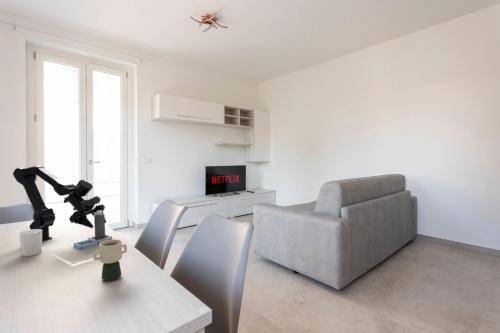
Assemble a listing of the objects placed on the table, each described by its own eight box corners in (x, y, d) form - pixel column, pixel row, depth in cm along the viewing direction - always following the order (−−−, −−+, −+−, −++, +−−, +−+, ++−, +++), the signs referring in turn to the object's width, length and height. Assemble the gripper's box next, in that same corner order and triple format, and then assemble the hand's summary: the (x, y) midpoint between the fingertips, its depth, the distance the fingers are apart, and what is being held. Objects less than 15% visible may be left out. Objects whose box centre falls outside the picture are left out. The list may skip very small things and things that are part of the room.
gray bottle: (93, 240, 132) (92, 211, 131) (102, 238, 136) (101, 209, 135) (97, 242, 129) (96, 212, 129) (107, 240, 133) (106, 210, 132)
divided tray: (71, 247, 125) (70, 242, 125) (104, 238, 138) (104, 233, 138) (81, 251, 119) (81, 246, 119) (115, 242, 132) (114, 237, 132)
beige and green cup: (123, 270, 100) (122, 236, 100) (131, 276, 95) (130, 241, 94) (91, 280, 92) (90, 243, 92) (97, 287, 87) (96, 249, 87)
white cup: (30, 257, 113) (28, 234, 112) (15, 256, 114) (14, 233, 114) (47, 251, 120) (46, 229, 120) (33, 249, 122) (32, 228, 122)
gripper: (73, 194, 123) (96, 218, 122) (101, 189, 141) (121, 210, 140) (59, 211, 124) (81, 234, 123) (88, 203, 143) (108, 224, 142)
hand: (99, 225), depth 132 cm, fingers open, 9 cm apart
